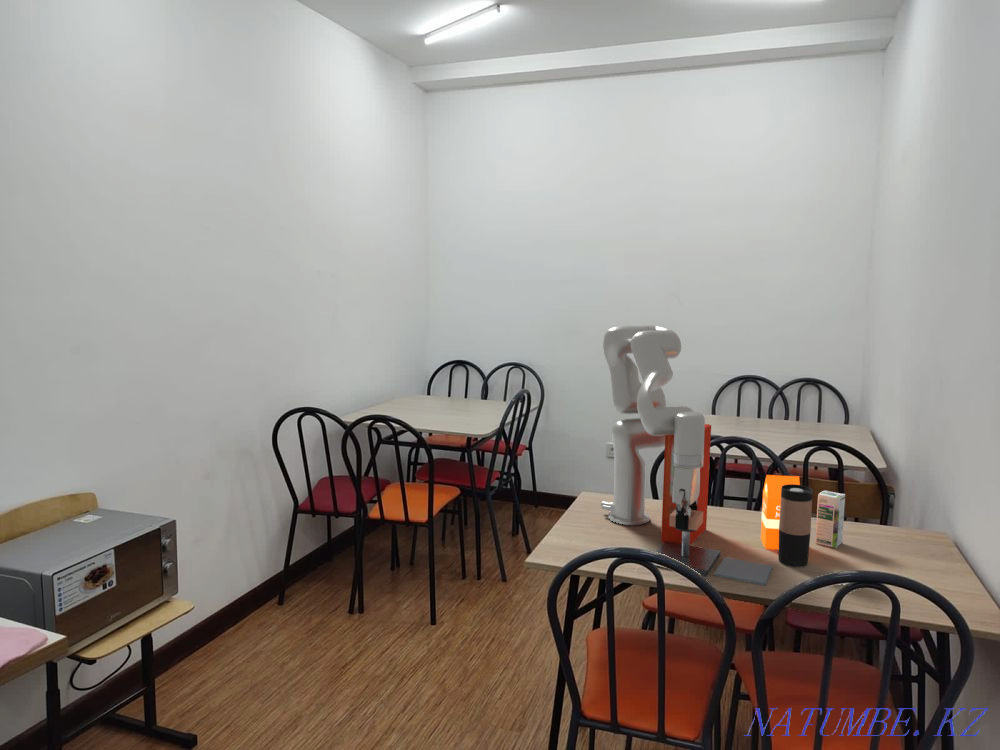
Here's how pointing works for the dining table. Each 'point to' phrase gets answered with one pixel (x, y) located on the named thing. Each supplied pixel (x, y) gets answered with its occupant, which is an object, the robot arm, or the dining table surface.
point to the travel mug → (795, 525)
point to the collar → (694, 519)
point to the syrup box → (830, 519)
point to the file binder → (668, 506)
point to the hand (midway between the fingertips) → (686, 523)
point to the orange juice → (773, 508)
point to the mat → (744, 571)
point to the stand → (691, 553)
